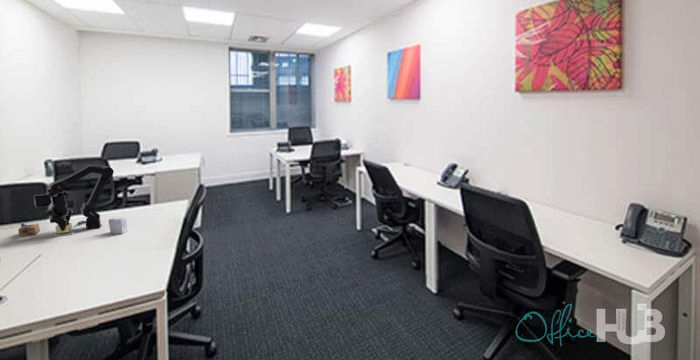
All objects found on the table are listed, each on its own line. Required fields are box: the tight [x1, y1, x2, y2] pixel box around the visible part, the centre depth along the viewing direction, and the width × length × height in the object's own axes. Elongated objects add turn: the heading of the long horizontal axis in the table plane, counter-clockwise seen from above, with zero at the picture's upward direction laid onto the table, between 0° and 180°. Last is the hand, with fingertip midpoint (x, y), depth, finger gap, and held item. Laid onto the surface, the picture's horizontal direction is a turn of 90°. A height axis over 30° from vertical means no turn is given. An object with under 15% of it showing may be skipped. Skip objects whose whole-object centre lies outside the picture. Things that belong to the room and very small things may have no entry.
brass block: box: [55, 222, 73, 234], centre depth 195 cm, size 6×4×4 cm
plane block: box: [17, 223, 41, 238], centre depth 195 cm, size 7×7×4 cm
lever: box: [20, 222, 29, 232], centre depth 189 cm, size 11×3×2 cm, turn 47°
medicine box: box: [108, 216, 129, 235], centre depth 198 cm, size 8×4×9 cm, turn 84°
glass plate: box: [54, 229, 76, 238], centre depth 196 cm, size 8×7×1 cm
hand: (64, 229), depth 195 cm, fingers closed on brass block, 5 cm apart
